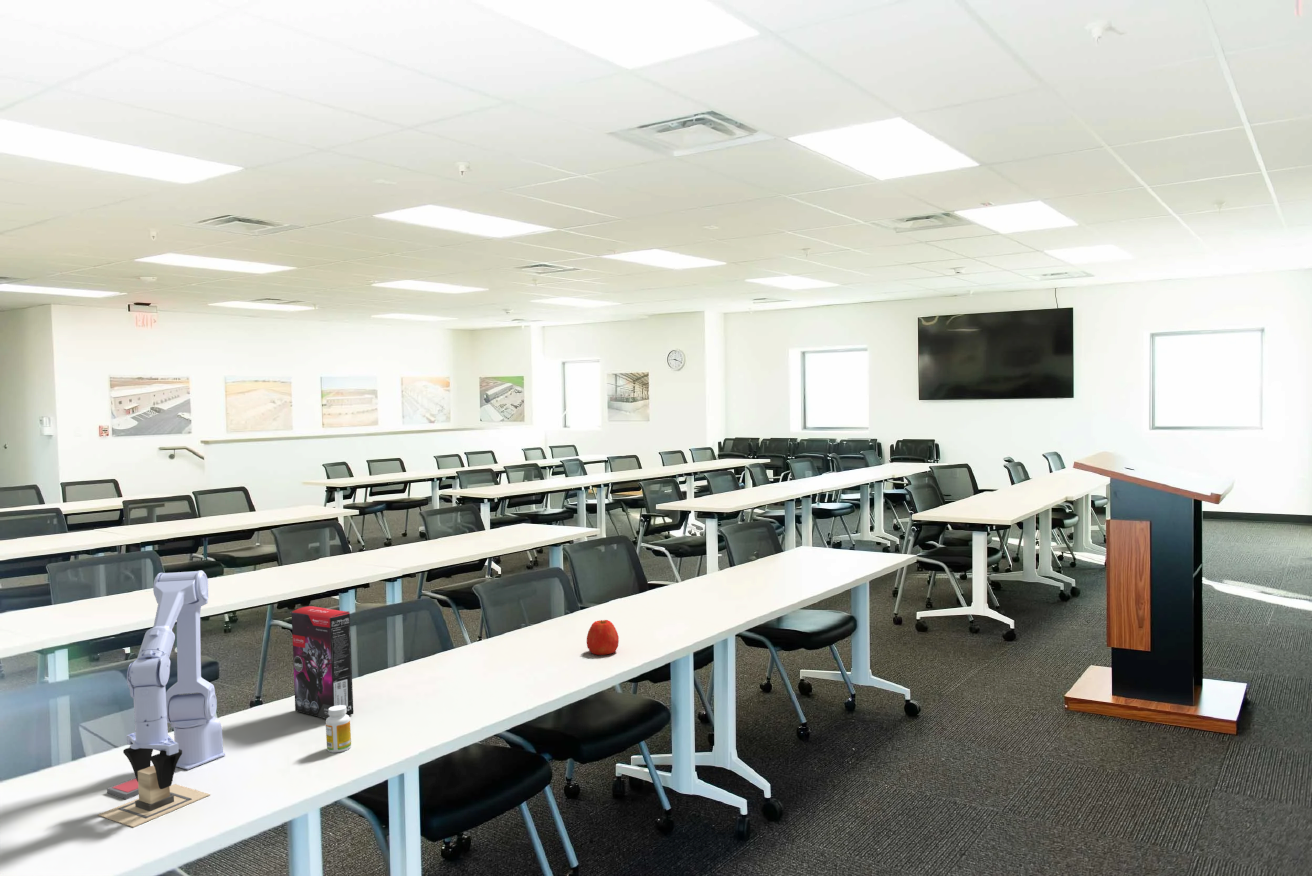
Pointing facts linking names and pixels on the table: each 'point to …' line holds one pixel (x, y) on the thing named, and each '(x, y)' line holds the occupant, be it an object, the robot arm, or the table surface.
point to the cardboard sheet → (138, 816)
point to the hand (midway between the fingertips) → (154, 783)
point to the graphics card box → (322, 660)
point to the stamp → (151, 791)
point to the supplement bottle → (338, 729)
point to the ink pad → (125, 789)
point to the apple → (602, 638)
